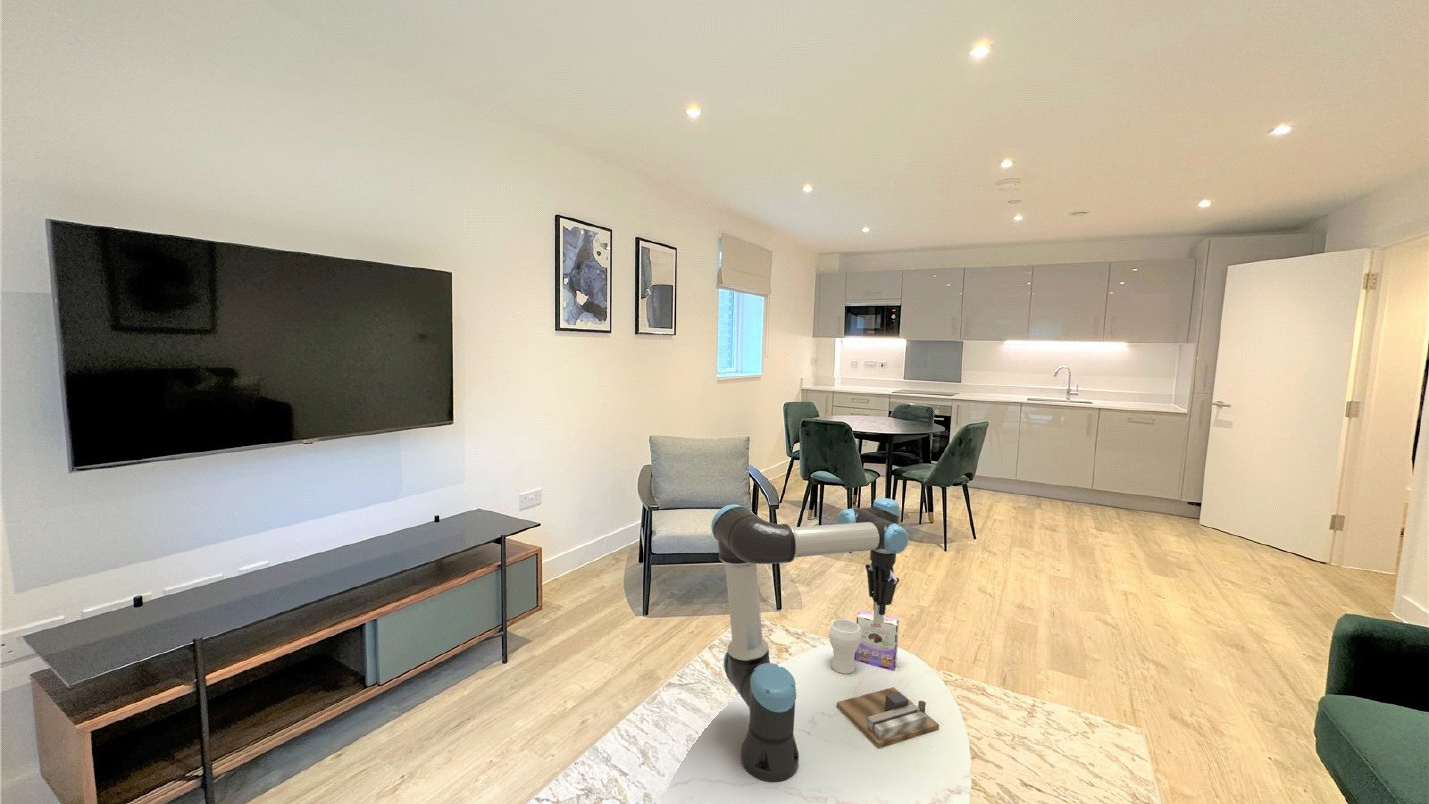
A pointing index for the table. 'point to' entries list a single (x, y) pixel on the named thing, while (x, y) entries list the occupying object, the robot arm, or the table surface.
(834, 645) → the cup
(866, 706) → the board
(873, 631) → the candy box
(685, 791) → the table surface
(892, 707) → the dark grey block
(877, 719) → the bar
